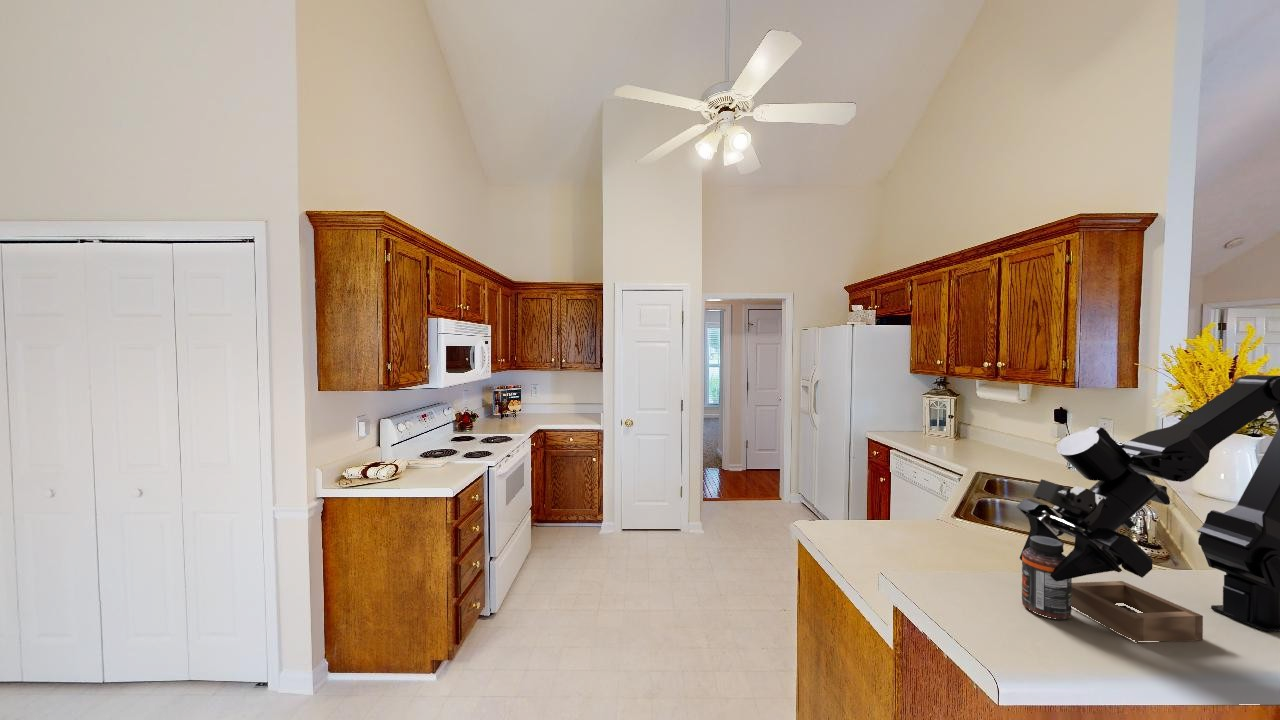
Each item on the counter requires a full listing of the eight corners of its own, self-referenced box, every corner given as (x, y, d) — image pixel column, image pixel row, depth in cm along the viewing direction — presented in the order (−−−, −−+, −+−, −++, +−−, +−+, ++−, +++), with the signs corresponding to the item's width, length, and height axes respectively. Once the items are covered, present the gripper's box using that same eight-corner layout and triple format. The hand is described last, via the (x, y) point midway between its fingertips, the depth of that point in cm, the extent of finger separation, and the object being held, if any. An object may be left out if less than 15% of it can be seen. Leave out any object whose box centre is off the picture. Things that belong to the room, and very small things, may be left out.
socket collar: (1122, 602, 77) (1122, 581, 77) (1202, 640, 67) (1202, 615, 67) (1063, 604, 76) (1063, 583, 76) (1135, 643, 66) (1135, 618, 66)
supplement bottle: (1017, 598, 78) (1018, 530, 78) (1064, 607, 76) (1065, 537, 76) (1026, 615, 73) (1027, 542, 73) (1077, 625, 70) (1077, 550, 70)
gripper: (1028, 452, 83) (962, 513, 84) (1131, 479, 65) (1046, 557, 65) (1074, 498, 83) (1008, 558, 84) (1192, 538, 64) (1106, 616, 65)
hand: (1037, 569), depth 74 cm, fingers closed on supplement bottle, 6 cm apart
